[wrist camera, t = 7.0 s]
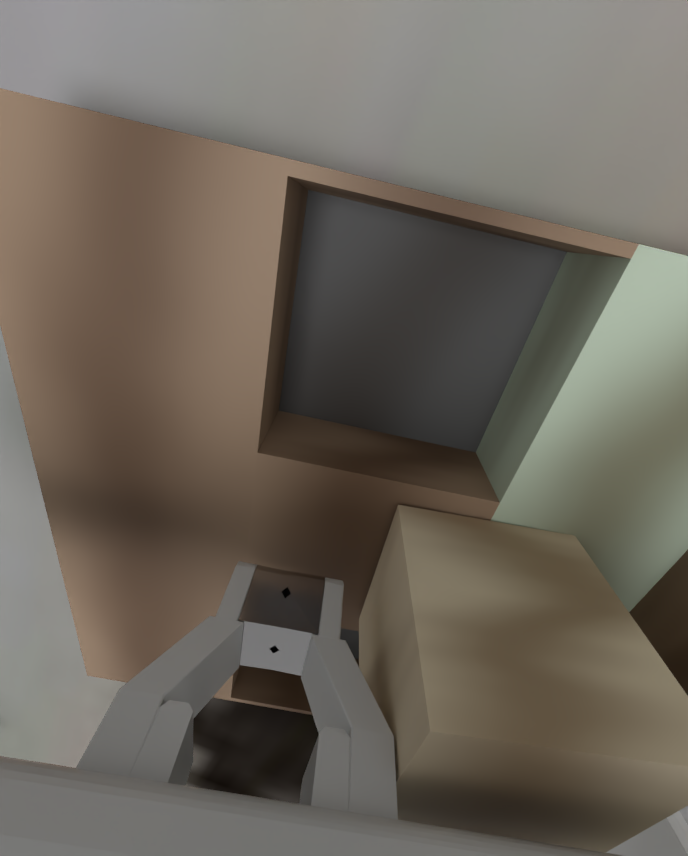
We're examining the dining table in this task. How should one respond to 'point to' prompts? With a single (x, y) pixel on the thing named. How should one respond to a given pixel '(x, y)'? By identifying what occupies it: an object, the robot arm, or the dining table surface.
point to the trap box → (320, 379)
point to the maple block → (518, 686)
